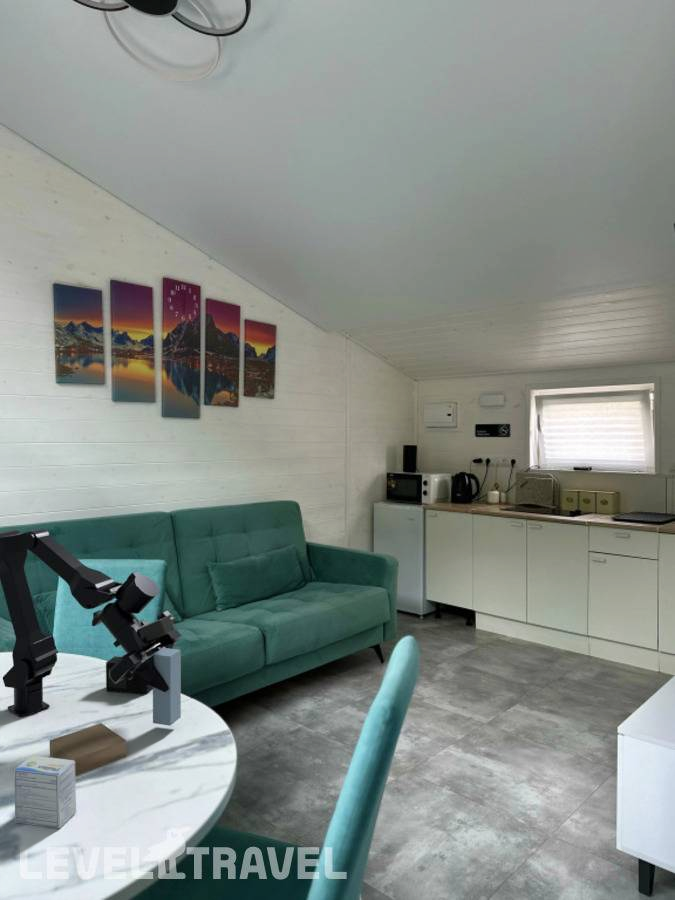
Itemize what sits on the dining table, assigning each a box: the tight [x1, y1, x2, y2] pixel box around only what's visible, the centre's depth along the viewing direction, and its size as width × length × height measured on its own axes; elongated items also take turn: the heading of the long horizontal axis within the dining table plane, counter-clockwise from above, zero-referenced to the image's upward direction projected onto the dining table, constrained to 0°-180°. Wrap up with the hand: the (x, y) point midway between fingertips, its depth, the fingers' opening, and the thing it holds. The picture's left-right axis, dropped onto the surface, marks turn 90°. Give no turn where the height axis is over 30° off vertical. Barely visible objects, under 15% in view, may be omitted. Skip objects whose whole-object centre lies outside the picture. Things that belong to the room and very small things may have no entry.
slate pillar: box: [152, 648, 182, 727], centre depth 129 cm, size 4×4×14 cm
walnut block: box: [49, 722, 127, 777], centre depth 119 cm, size 10×10×3 cm
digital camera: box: [105, 656, 153, 695], centre depth 149 cm, size 10×5×7 cm, turn 81°
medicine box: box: [13, 755, 77, 829], centre depth 99 cm, size 8×4×9 cm, turn 78°
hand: (172, 686), depth 129 cm, fingers closed on slate pillar, 4 cm apart
